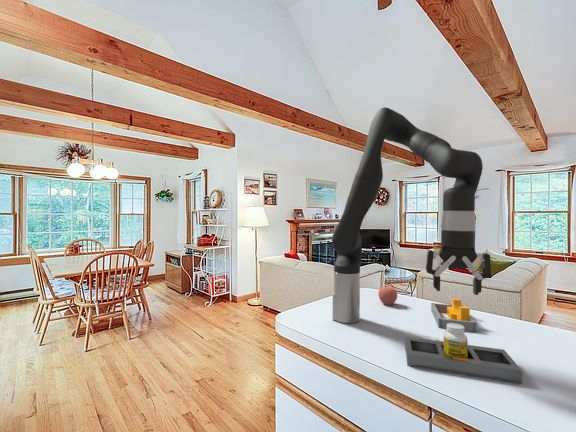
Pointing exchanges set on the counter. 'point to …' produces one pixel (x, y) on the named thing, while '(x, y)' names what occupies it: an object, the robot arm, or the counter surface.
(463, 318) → the pipe clamp
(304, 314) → the counter surface
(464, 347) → the supplement bottle
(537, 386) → the counter surface
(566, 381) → the counter surface
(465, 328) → the clamp tray
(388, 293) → the apple
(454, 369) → the three-compartment grey tray
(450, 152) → the robot arm
